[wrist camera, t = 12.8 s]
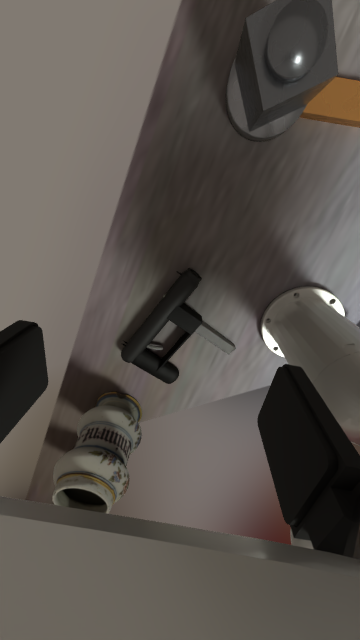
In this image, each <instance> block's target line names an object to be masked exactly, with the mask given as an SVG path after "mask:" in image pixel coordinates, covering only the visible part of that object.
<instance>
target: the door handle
mask: <svg viewBox="0 0 360 640" xmlns="http://www.w3.org/2000/svg"><path fill="white" fill-rule="evenodd" d="M177 273H179V274H180V272H178V271H177ZM180 275H181V276H180V277H179V278H178V280H177V281H176V282H175V283H174V285H173V286H172V287H171V288H170V290H169V291H168V292H167V294H166V295H164V296H163V299H162V300H161V301H160V303H159V304H158V305H157V306H156V308H155V309H154V310H153V311H152V313H151V314H150V315H149V317H148V318H147V319H146V320H145V322H144V323H143V324H142V325H141V327H140V328H139V329H138V331H137V332H136V333H135V334H134V336H133V337H132V338H131V340H130V341H129V342H128V343H127V342H125V341H124V342H125V343H127V345H124V344H123V345H124V346H125V347H124V348H123V350H122V352H121V357H122V359H123V360H124V361H125V362H128V363H132V364H134V365H136V366H137V367H139V368H141V369H143V370H144V371H146V372H148V373H150V374H151V375H153V376H155V377H156V378H158V379H160V380H162V381H163V382H165V383H167V384H170V383H173V382H174V381H175V380H176V379H177V378H178V376H179V370H178V369H177V368H175V367H174V366H172V365H170V364H169V363H167V361H168V360H169V359H170V358H171V356H172V355H173V354H174V353H175V352H176V351H177V350H178V349H179V348H180V347H181V346H182V345H183V343H184V342H185V341H186V340H187V339H188V338H189V337H190V336H191V335H192V334H193V333H194V332H196V333H198V334H199V335H201V336H202V337H204V338H205V339H207V340H208V341H210V342H211V343H212V344H214V345H215V346H217V347H218V348H220V349H221V350H223V351H224V352H226V353H227V354H230V353H231V352H233V351H234V350H235V349H236V348H235V345H234V344H233V343H232V342H230V341H229V340H227V339H226V338H225V337H223V336H222V335H221V334H219V333H218V332H217V331H215V330H214V329H213V328H211V327H210V326H208V325H207V324H206V323H204V322H203V321H202V316H201V315H199V314H198V313H197V312H195V311H194V310H192V309H191V308H190V307H188V306H187V305H186V304H184V302H185V301H186V299H187V298H188V297H189V296H190V295H191V293H192V292H193V291H194V290H195V289H196V287H197V286H198V284H199V282H200V281H201V279H202V278H201V277H200V276H199V275H198V274H197V273H196V272H195V271H194V270H192V269H190V268H188V270H187V271H186V272H184V273H182V274H180ZM169 320H170V321H171V322H173V323H174V324H176V325H177V326H179V327H180V328H182V329H183V330H185V331H186V332H185V333H184V335H183V336H182V337H181V338H180V339H179V340H178V341H177V342H176V343H175V345H174V346H173V347H172V348H171V349H170V350H169V351H168V352H167V353H166V355H165V356H164V357H163V358H162V359H161V358H159V357H157V356H156V355H154V354H152V353H151V352H149V351H148V350H146V349H145V348H146V347H147V348H149V349H153V350H163V346H152V345H149V344H150V342H151V341H152V340H153V339H154V338H155V336H156V335H157V334H158V333H159V332H160V330H161V329H162V328H163V327H164V326H165V324H166V323H167V322H168V321H169Z"/></svg>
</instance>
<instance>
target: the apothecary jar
mask: <svg viewBox="0 0 360 640" xmlns="http://www.w3.org/2000/svg"><path fill="white" fill-rule="evenodd" d="M141 416H142V409H141V407H140V405H139V403H138V402H137V401H136V400H135V399H134V398H133V397H131V396H129V395H127V394H119V393H118V392H108V393H105V394H103V395H102V396H100V397H99V398H98V400H97V402H96V407H95V408H92V409H90V410H89V411H87V412H86V413H85V414H84V415H83V416H82V417H81V419H80V420H79V423H78V426H77V435H78V440H77V442H76V444H75V446H74V448H73V450H70V451H68V452H67V453H65V454H64V455H63V456H62V457H61V458H60V459H59V460H58V461H57V463H56V465H55V468H54V472H53V479H54V483H55V486H56V487H55V490H54V493H53V498H52V500H53V504H54V505H58V506H64V507H70V508H76V509H82V510H88V511H95V512H101V513H107V514H108V513H109V511H110V510H111V507H112V505H113V504H114V503H115V502H117V501H118V500H120V499H121V498H122V496H123V495H124V494H125V493H126V491H127V489H128V485H129V473H128V470H127V468H126V465H127V461H128V458H129V455H130V454H131V453H132V452H133V451H134V450H135V449H136V448H137V447H138V445H139V443H140V441H141V428H140V425H139V423H138V422H139V421H140V419H141Z"/></svg>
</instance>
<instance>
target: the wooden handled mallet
mask: <svg viewBox="0 0 360 640" xmlns="http://www.w3.org/2000/svg"><path fill="white" fill-rule="evenodd" d="M235 59H236V57H235ZM234 63H235V60H234V62H233V64H232V67H231V70H230V75H229V79H228V83H227V89H226V108H227V113H228V117H229V119H230V122H231V124H232V125H233V127H234V129H235V130H236V131H237V132H238V133H239V134H240V135H241V136H243V137H244V138H246V139H248V140H251V141H256V142H262V141H268V140H271V139H274V138H276V137H278V136H279V135H281V134H282V133H283V132H285V131H286V130H287V129H288V128H289V127H290V126H291V125H292V124H294V123H295V121H296V120H297V119H298V118H305V119H311V120H317V121H323V122H329V123H335V124H341V125H347V126H353V127H359V128H360V81H357V80H351V79H345V78H339V77H335V78H334V79H333V80H332V81H331V82H330V83H329V84H328V85H327V86H326V87H325V88H324V89H323V90H322V91H321V92H320V93H319V94H317V95H316V96H315V97H314V98H313V99H312V100H311V101H310V102H309V103H308V104H307V105H306V106H304V107H302V108H300V109H298V110H295V111H293V112H291V113H289V114H287V115H285V116H283V117H281V118H279V119H276V120H274V121H272V122H270V123H268V124H266V125H264V126H262V127H259V128H257V129H255V130H253V131H251V132H249V129H248V124H247V120H246V115H245V111H244V106H243V101H242V97H241V92H240V87H239V83H238V78H237V74H236V69H235V64H234Z"/></svg>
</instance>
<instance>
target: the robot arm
mask: <svg viewBox="0 0 360 640" xmlns="http://www.w3.org/2000/svg"><path fill="white" fill-rule="evenodd" d="M295 293H296V294H295ZM294 294H295V295H294ZM267 318H268V319H267ZM266 319H267V320H266ZM261 334H262V338H263V340H264V342H265V344H266V345H267V347H268V348H269V349H270V350H271V351H272V352H274V353H275V354H277V355H279V356H282V357H285V359H286V360H287V362H288V364H289V365H288V364H284V365H283V366H282V367H279V368H278V369H277V371H276V374H275V376H274V379H273V381H272V383H271V386H270V388H269V391H268V394H267V396H266V398H265V401H264V403H263V406H262V408H261V410H260V413H259V415H258V427H259V430H260V434H261V438H262V442H263V445H264V449H265V452H266V456H267V460H268V463H269V467H270V471H271V474H272V478H273V481H274V485H275V488H276V492H277V496H278V499H279V503H280V507H281V510H282V514H283V517H284V520H285V522H286V523H287V524H289V525H290V527H291V542H292V545H288V544H282V543H278V542H272V541H267V540H261V539H256V538H250V537H244V536H238V535H231V534H226V533H220V532H214V531H208V530H202V529H197V528H191V527H185V526H179V525H173V524H167V523H161V522H155V521H149V520H143V519H137V518H130V517H125V516H119V515H112V514H107V513H101V512H95V511H88V510H82V509H76V508H70V507H64V506H58V505H52V504H46V503H39V502H33V501H27V500H20V499H14V498H7V497H1V496H0V640H360V455H359V454H358V452H357V451H356V449H355V448H354V446H353V445H352V443H355V444H357V445H359V446H360V328H359V327H358V326H356V325H355V324H354V323H352V322H351V321H350V320H348V319H347V318H346V317H345V311H344V308H343V305H342V303H341V302H340V301H339V299H338V298H337V297H336V296H334V295H333V294H332V293H330V292H328V291H327V290H324V289H322V288H318V287H312V286H309V287H299V288H294V289H292V290H289V291H287V292H285V293H283V294H281V295H280V296H278V297H277V298H276V299H275V300H273V301H272V303H271V304H270V305H269V306H268V307H267V309H266V310H265V312H264V314H263V317H262V320H261ZM47 385H48V375H47V367H46V358H45V350H44V341H43V333H42V329H41V328H40V327H38V324H37V323H34V322H28V321H22V320H19V321H17V322H15V323H13V324H12V325H10V326H9V327H7V328H5V329H4V330H2V331H0V443H1V442H2V441H3V440H4V438H5V437H6V436H7V435H8V434H9V432H10V431H11V430H12V429H13V428H14V427H15V425H16V424H17V423H18V422H19V420H20V419H21V418H22V417H23V416H24V415H25V413H26V412H27V411H28V410H29V409H30V407H31V406H32V405H33V404H34V403H35V402H36V400H37V399H38V398H39V397H40V396H41V394H42V393H43V392H44V391H45V389H46V388H47ZM351 442H352V443H351Z"/></svg>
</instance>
